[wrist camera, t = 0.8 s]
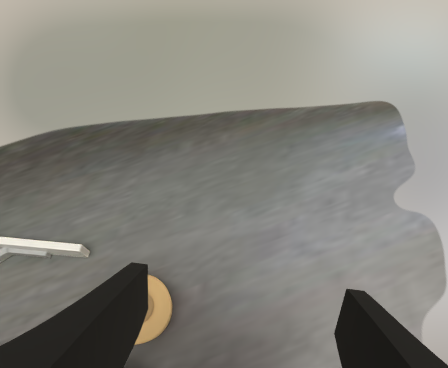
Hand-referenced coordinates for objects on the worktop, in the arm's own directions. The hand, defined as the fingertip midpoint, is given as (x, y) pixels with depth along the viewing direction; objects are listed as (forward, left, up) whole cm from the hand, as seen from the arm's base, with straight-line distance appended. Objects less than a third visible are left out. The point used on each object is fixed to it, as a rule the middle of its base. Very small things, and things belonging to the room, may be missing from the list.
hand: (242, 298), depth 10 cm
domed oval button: (0, +6, -17) cm, 18 cm away
